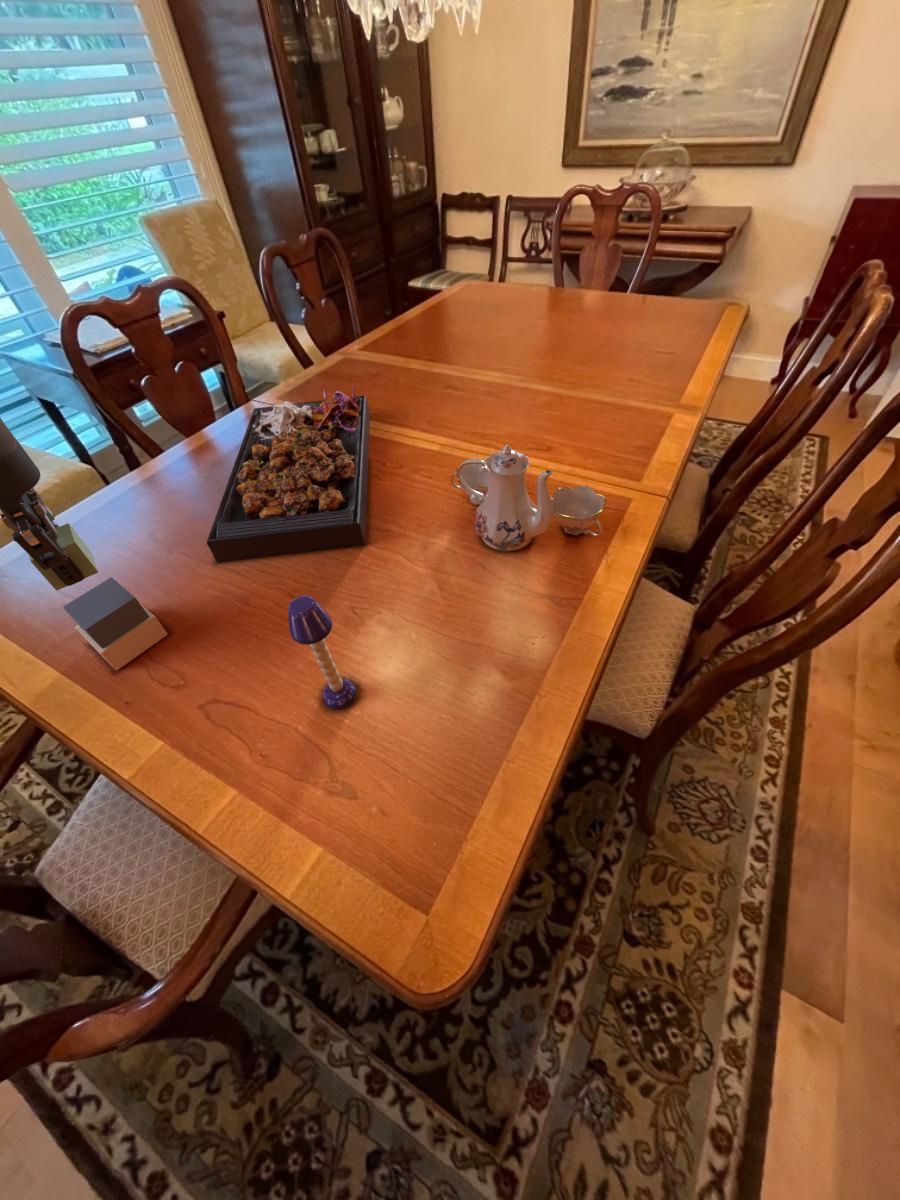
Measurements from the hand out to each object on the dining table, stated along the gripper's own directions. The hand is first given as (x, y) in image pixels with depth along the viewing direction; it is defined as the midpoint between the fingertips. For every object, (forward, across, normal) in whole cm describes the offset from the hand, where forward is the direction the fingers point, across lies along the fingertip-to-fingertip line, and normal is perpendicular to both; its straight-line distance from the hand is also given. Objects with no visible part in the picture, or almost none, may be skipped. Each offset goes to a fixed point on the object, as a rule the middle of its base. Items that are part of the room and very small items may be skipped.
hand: (71, 569), depth 67 cm
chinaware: (+14, +17, +59) cm, 63 cm away
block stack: (+14, 0, 0) cm, 14 cm away
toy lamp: (+14, +28, +20) cm, 37 cm away
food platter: (+14, -21, +38) cm, 46 cm away
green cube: (0, 0, 0) cm, 0 cm away
